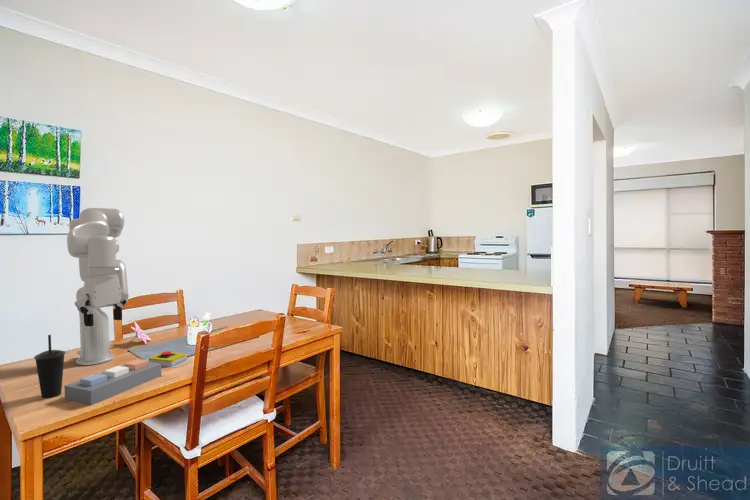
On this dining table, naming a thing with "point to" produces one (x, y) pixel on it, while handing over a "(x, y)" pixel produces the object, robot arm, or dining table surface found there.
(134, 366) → the terracotta key
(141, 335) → the lily
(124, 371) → the off white key
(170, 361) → the emergency button
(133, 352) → the dining table surface
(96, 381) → the slate blue key
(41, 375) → the drinking cup
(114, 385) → the key panel
